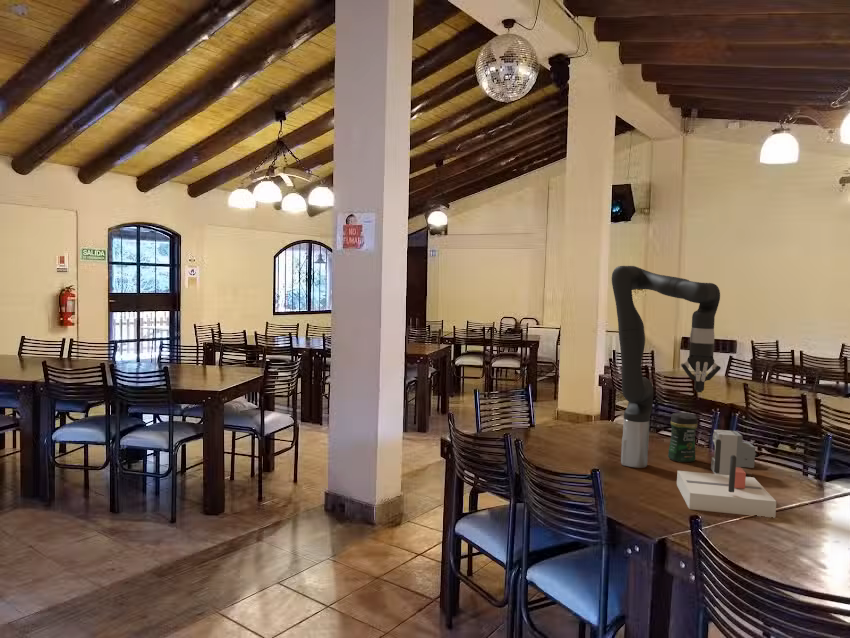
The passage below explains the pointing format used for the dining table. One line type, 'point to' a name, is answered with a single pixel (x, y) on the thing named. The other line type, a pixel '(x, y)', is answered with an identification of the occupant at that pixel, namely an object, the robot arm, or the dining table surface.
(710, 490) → the board
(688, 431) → the coffee jar
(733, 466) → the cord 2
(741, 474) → the block
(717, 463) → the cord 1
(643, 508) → the dining table surface
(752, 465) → the circuit breaker
